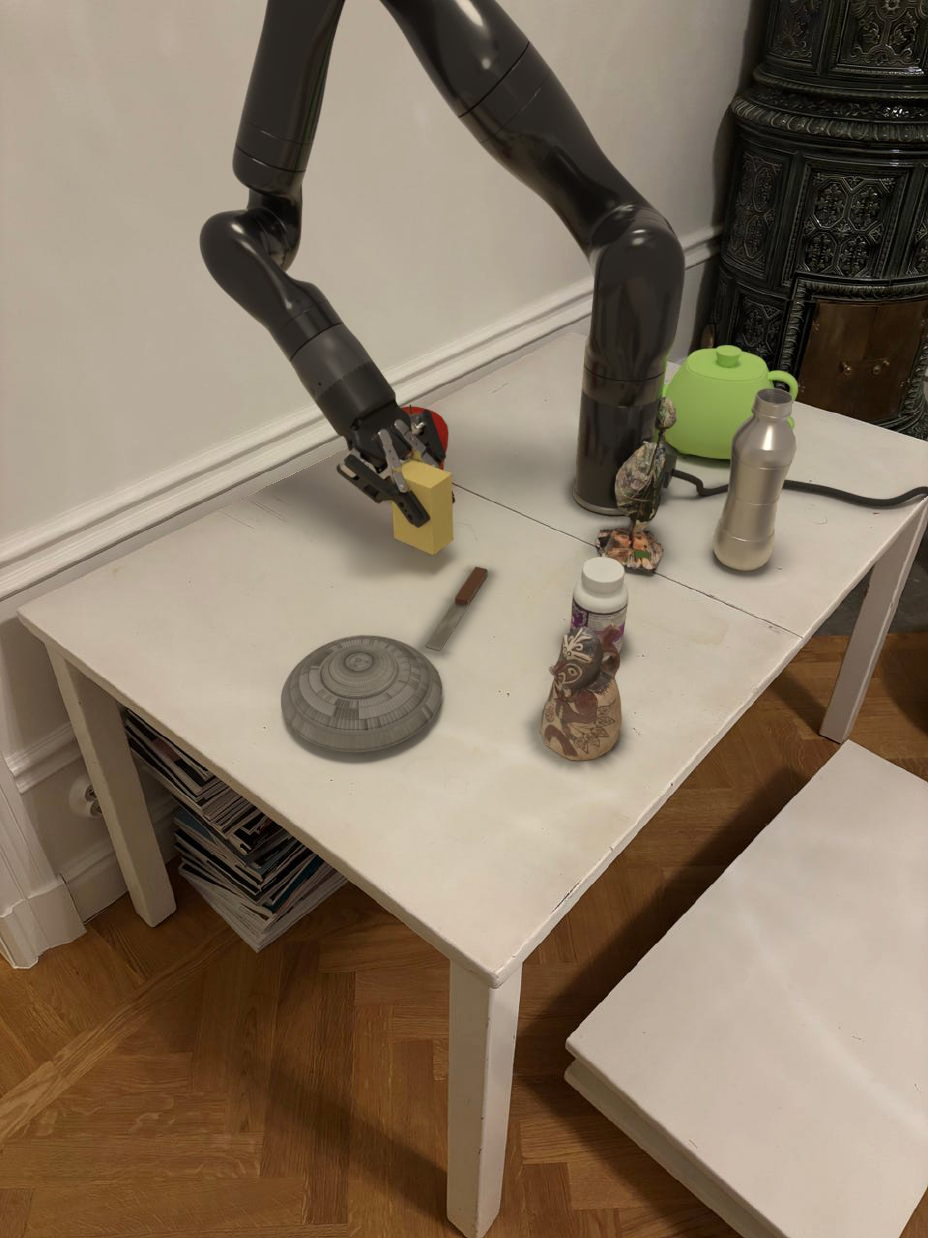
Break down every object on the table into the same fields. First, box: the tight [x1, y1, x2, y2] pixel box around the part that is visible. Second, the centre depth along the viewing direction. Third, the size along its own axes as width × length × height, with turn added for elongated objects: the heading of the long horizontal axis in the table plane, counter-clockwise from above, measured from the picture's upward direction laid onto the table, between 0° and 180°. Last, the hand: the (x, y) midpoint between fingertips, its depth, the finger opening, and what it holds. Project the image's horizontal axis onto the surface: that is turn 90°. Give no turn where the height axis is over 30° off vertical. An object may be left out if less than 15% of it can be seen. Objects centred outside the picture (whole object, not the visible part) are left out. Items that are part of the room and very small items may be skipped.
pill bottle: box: [569, 556, 630, 661], centre depth 92 cm, size 5×5×10 cm
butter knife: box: [425, 566, 488, 651], centre depth 99 cm, size 14×2×1 cm, turn 158°
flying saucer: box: [280, 634, 443, 753], centre depth 87 cm, size 15×15×6 cm
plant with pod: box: [595, 396, 677, 574], centre depth 101 cm, size 8×11×20 cm
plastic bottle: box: [712, 387, 797, 572], centre depth 99 cm, size 6×7×20 cm
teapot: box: [662, 344, 799, 461], centre depth 123 cm, size 22×15×13 cm
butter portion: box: [391, 459, 454, 556], centre depth 102 cm, size 4×6×8 cm, turn 53°
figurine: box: [539, 623, 623, 761], centre depth 82 cm, size 7×7×12 cm
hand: (436, 514), depth 101 cm, fingers closed on butter portion, 3 cm apart
